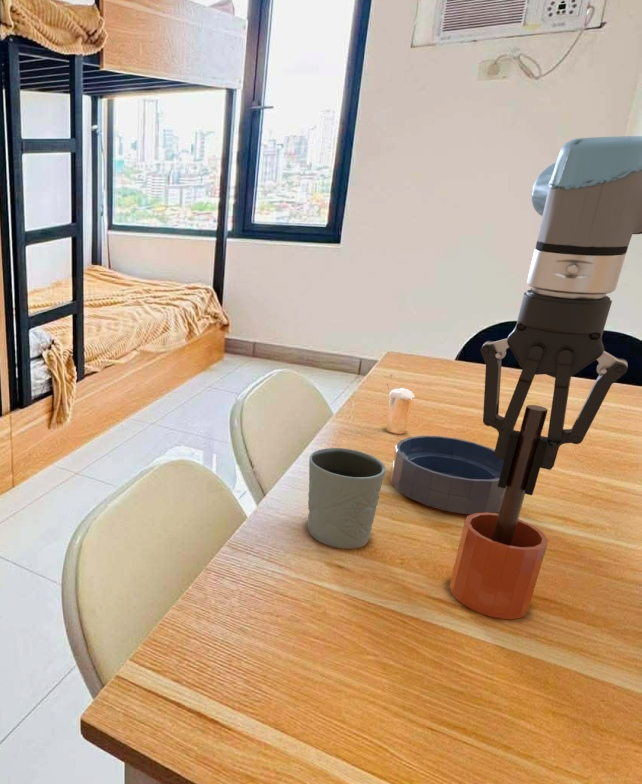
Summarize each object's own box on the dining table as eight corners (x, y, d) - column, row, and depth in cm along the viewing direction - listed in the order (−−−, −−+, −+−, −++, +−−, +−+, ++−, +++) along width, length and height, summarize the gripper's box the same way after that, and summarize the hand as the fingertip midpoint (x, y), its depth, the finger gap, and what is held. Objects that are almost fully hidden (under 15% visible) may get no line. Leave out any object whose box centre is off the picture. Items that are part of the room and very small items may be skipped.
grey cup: (376, 557, 89) (389, 482, 85) (300, 544, 92) (310, 471, 88) (369, 521, 98) (381, 452, 94) (300, 510, 101) (309, 443, 97)
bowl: (514, 487, 107) (523, 453, 105) (498, 529, 95) (508, 492, 93) (404, 459, 118) (410, 428, 116) (377, 494, 106) (383, 459, 104)
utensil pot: (531, 594, 81) (551, 527, 77) (523, 629, 75) (543, 558, 72) (457, 569, 86) (472, 505, 83) (443, 599, 80) (459, 532, 77)
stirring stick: (504, 569, 79) (548, 407, 72) (502, 576, 78) (547, 412, 70) (486, 563, 80) (527, 403, 73) (483, 570, 79) (525, 408, 71)
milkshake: (381, 424, 134) (388, 380, 130) (409, 429, 131) (417, 384, 128) (377, 431, 130) (384, 386, 127) (405, 437, 127) (414, 390, 124)
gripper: (479, 289, 69) (438, 479, 77) (663, 306, 60) (595, 521, 68) (490, 279, 74) (451, 458, 82) (661, 294, 65) (598, 494, 73)
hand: (516, 486), depth 75 cm, fingers closed on stirring stick, 2 cm apart
